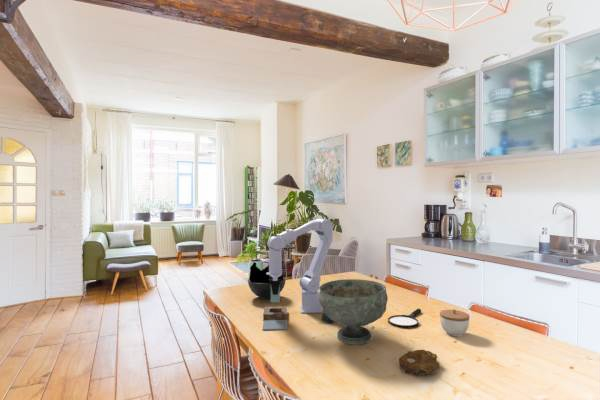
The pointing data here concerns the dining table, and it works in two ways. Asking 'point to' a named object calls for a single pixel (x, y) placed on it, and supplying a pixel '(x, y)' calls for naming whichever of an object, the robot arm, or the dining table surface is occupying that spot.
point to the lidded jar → (454, 322)
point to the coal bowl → (262, 282)
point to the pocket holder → (275, 313)
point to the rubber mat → (275, 325)
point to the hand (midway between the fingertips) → (275, 293)
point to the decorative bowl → (353, 306)
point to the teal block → (275, 296)
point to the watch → (326, 318)
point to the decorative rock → (419, 362)
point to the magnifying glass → (405, 320)
